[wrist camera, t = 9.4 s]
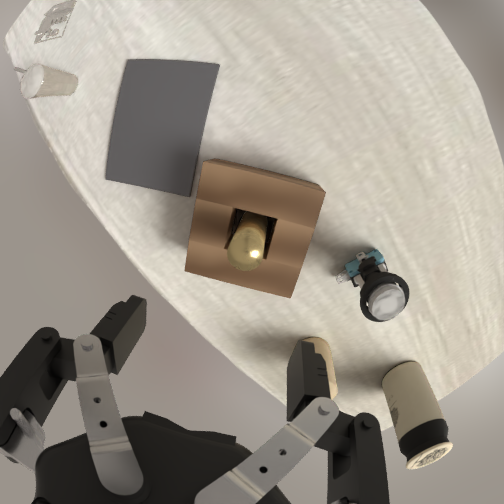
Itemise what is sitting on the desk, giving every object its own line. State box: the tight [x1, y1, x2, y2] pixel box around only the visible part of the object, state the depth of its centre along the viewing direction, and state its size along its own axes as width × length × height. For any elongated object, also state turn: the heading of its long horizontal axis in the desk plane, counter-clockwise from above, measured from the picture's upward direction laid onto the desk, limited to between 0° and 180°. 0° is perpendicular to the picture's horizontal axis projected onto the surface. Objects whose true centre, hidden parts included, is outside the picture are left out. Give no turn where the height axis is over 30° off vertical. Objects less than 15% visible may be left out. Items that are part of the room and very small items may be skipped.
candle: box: [303, 337, 338, 400], centre depth 34 cm, size 6×6×10 cm
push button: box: [335, 249, 409, 322], centre depth 29 cm, size 7×5×10 cm
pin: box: [227, 211, 268, 271], centre depth 28 cm, size 3×3×10 cm
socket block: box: [185, 158, 326, 298], centre depth 30 cm, size 12×12×5 cm
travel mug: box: [382, 362, 453, 469], centre depth 32 cm, size 8×8×18 cm
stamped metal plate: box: [34, 0, 77, 44], centre depth 22 cm, size 8×7×2 cm
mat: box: [106, 59, 220, 197], centre depth 28 cm, size 16×12×1 cm
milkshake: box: [14, 64, 78, 99], centre depth 22 cm, size 4×5×10 cm
